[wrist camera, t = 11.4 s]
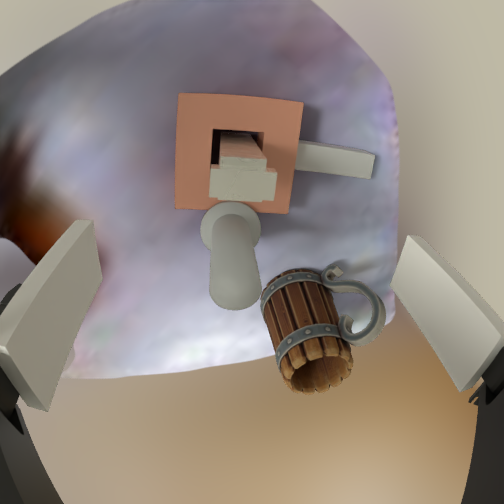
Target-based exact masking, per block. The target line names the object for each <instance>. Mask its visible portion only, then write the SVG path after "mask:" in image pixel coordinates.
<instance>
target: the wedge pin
mask: <svg viewBox="0 0 504 504" xmlns="http://www.w3.org/2000/svg"><path fill="white" fill-rule="evenodd" d="M266 164H267V159H266V157H265V156H264V154H263V153H262V151H261V150H260V148H259V147H258V146H257V144H256V143H255V141H254V140H253V138H252V137H251V135H250V134H247V133H233V132H221V137H220V151H219V165H215V164H211V169H210V188H209V197H214V198H218V200H230V201H249V202H262V200H269V201H274V196H275V188H276V180H277V171H276V170H275V168H266Z"/></svg>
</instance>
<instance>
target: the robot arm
mask: <svg viewBox="0 0 504 504" xmlns="http://www.w3.org/2000/svg"><path fill="white" fill-rule="evenodd" d="M102 280H103V278H102V273H101V268H100V262H99V257H98V251H97V245H96V238H95V232H94V224H93V220H76V221H75V222H74V223H73V224H72V225H71V226H70V227H69V228H68V229H67V230H66V232H65V233H64V234H63V235H62V236H61V237H60V238H59V239H58V241H57V242H56V243H55V244H54V245H53V246H52V248H51V249H50V250H49V251H48V252H47V254H46V255H45V256H44V257H43V258H42V260H41V261H40V262H39V263H38V265H37V266H36V267H35V268H34V270H33V271H32V272H31V274H30V275H29V277H28V278H27V279H26V280H25V281H24V283H23V284H18V285H17V286H15V287H14V288H13V289H12V290H10V291H9V292H8V293H7V294H6V296H5V297H4V298H3V300H2V301H1V303H0V504H64V503H63V502H62V500H61V498H60V497H59V495H58V493H57V491H56V490H55V488H54V486H53V484H52V482H51V480H50V478H49V476H48V474H47V473H46V470H45V468H44V466H43V464H42V462H41V460H40V458H39V456H38V453H37V451H36V449H35V447H34V444H33V442H32V440H31V437H30V434H29V432H28V429H27V427H26V424H25V422H24V419H23V416H22V413H21V410H20V409H19V407H18V405H17V404H16V403H17V400H18V397H19V395H20V396H21V398H22V399H23V400H24V402H25V403H26V404H27V406H29V407H33V408H36V409H39V410H43V411H46V412H48V411H49V408H50V405H51V402H52V398H53V396H54V393H55V390H56V387H57V384H58V381H59V379H60V376H61V373H62V371H63V367H64V365H65V362H66V360H67V357H68V355H69V352H70V350H71V348H72V345H73V343H74V340H75V338H76V336H77V333H78V331H79V329H80V326H81V324H82V322H83V320H84V317H85V315H86V313H87V311H88V309H89V307H90V304H91V302H92V300H93V298H94V296H95V294H96V292H97V290H98V288H99V286H100V284H101V282H102ZM390 287H391V288H392V290H393V291H394V293H395V294H396V295H397V297H398V298H399V299H400V301H401V302H402V304H403V305H404V306H405V308H406V309H407V311H408V312H409V314H410V315H411V316H412V318H413V319H414V321H415V322H416V324H417V325H418V327H419V328H420V330H421V331H422V333H423V334H424V336H425V337H426V339H427V340H428V342H429V343H430V345H431V346H432V348H433V349H434V351H435V353H436V354H437V356H438V357H439V359H440V360H441V362H442V364H443V365H444V367H445V369H446V370H447V372H448V373H449V375H450V377H451V379H452V380H453V382H454V384H455V385H456V387H457V389H458V390H459V392H462V391H464V390H467V389H470V388H472V387H473V386H474V385H475V383H476V382H477V381H478V380H479V378H480V377H481V376H482V378H483V380H484V382H483V383H482V385H481V386H480V387H479V388H478V389H477V390H476V391H475V393H474V394H473V395H472V396H471V397H470V399H469V403H471V402H472V400H474V398H475V397H479V398H478V399H477V400H476V401H475V402H474V404H475V405H478V415H477V425H476V433H475V440H474V447H473V453H472V459H471V464H470V469H469V474H468V478H467V483H466V487H465V491H464V495H463V499H462V502H461V504H504V322H503V320H502V319H501V318H500V317H499V316H498V315H497V313H496V312H495V311H494V310H493V309H492V308H491V307H490V305H489V304H488V303H487V302H486V301H485V300H484V299H483V298H482V297H481V296H480V294H479V293H478V292H477V291H476V290H475V289H474V288H473V287H472V286H471V285H470V284H469V283H468V282H467V281H466V280H465V279H464V278H463V277H462V276H461V275H460V274H459V272H457V270H456V269H455V268H454V267H452V266H451V265H450V264H449V263H448V262H447V261H446V260H445V259H444V258H443V257H442V256H441V255H440V254H439V253H438V252H437V251H436V250H435V249H434V248H433V247H432V246H431V245H429V244H428V243H427V242H426V241H425V240H424V239H423V238H422V237H421V236H415V235H408V236H407V239H406V242H405V245H404V248H403V250H402V253H401V256H400V259H399V262H398V264H397V267H396V270H395V273H394V275H393V278H392V280H391V283H390Z"/></svg>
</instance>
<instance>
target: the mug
mask: <svg viewBox="0 0 504 504" xmlns="http://www.w3.org/2000/svg"><path fill="white" fill-rule="evenodd" d="M343 273H344V272H343V271H342V270H341V269H340V268H339V267H338V266H337V265H335V264H332V265H329V266H328V267H327V268H325V269H324V271H323V272H322V275H321V276H320V275H319V274H317V273H313V272H312V271H310V270H305V269H299V270H291V271H287V272H284V273H282V274H280V275H279V276H276V277H275V278H274V279H272V280H271V281H270V282H269V283H268V284H267V287H266V288H265V289H264V290H263V292H262V295H261V304H260V306H261V312H262V315H263V319H264V321H265V323H266V324H267V327H268V331H269V334H270V337H271V340H272V344H273V347H274V350H275V356H276V362H277V365H278V368H279V371H280V373H281V374H282V376H283V380H284V383H285V384H286V385H287V386H288V387H289V388H290V389H291V390H292V391H293V392H295V393H301V392H303V393H304V394H306V395H307V394H309V395H310V394H314V392H315V390H316V391H317V392H319V393H322V392H325V391H328V390H329V387H330V385H331V386H333V387H336V386H338V385H339V384H341V382H342V380H343V378H344V379H345V378H347V377H348V376H349V375H350V373H351V368H352V367H353V358H352V355H351V348H350V345H349V343H350V344H351V345H354V346H364V345H366V344H368V343H370V342H372V341H373V340H374V339H376V338H377V337H378V335H379V334H380V333H381V331H382V329H383V327H384V324H385V320H386V311H385V307H384V304H383V302H382V300H381V299H380V298H379V297H378V296H377V295H376V294H375V293H374V292H373V291H372V290H371V289H370V288H369V287H368V286H367V285H365V284H364V283H362V282H360V281H355V280H340V281H333V278H334V277H335V276H338V277H340V276H341V275H342V274H343ZM331 291H332V292H336V293H345V292H355V293H360V294H363V295H365V296H366V297H367V298H368V299H369V300H370V302H371V305H372V318H371V321H370V323H369V324H368V326H367V327H366V328H365V329H363V330H362V331H360V332H359V333H355V334H353V333H352V330H351V328H352V324H353V321H354V320H353V319H351V318H350V317H349V316H348V315H342V314H341V316H340V319H339V316H338V314H337V311H336V308H335V305H334V302H333V296H332V294H331Z"/></svg>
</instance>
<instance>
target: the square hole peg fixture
mask: <svg viewBox="0 0 504 504" xmlns="http://www.w3.org/2000/svg"><path fill="white" fill-rule="evenodd" d="M303 104H304V103H302V102H295V101H288V100H281V99H272V98H263V97H253V96H242V95H228V94H208V93H179V95H178V110H177V129H176V155H175V209H198V210H207V212H206V213H205V215H204V216H203V219H202V222H201V229H200V233H201V238H202V241H203V243H204V244H205V246H206V247H207V248H208V249H209V250H210V251H211V258H210V285H209V292H210V296H211V298H212V300H213V301H214V302H215V303H216V304H217V305H218V306H220V307H222V308H224V309H228V310H241V309H245V308H248V307H250V306H251V305H253V304H254V303H255V302H256V301H257V300H258V299H259V297H260V295H261V291H262V286H261V281H260V276H259V271H258V266H257V261H256V257H255V252H254V247H255V246H256V244H257V243H258V241H259V238H260V235H261V224H260V221H259V218H258V215H257V214H256V212H261V213H278V214H288V210H289V203H290V197H291V190H292V183H293V177H294V170H302V171H311V172H320V173H328V174H336V175H343V176H350V177H357V178H364V179H370V178H371V173H372V169H373V164H374V159H375V155H373V154H371V153H369V152H367V151H365V150H361V149H355V148H350V147H344V146H338V145H332V144H325V143H318V142H311V141H304V140H299V135H300V127H301V120H302V112H303ZM214 129H226V130H241V131H254V132H258V136H257V146H258V147H259V148H260V150H261V151H262V153H263V154H264V156H265V157H266V159H267V164H266V168H275V170H276V171H277V180H276V188H275V196H274V201H269V200H262V202H249V201H230V200H218V198H214V197H209V188H210V169H211V160H212V144H213V130H214Z"/></svg>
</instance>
